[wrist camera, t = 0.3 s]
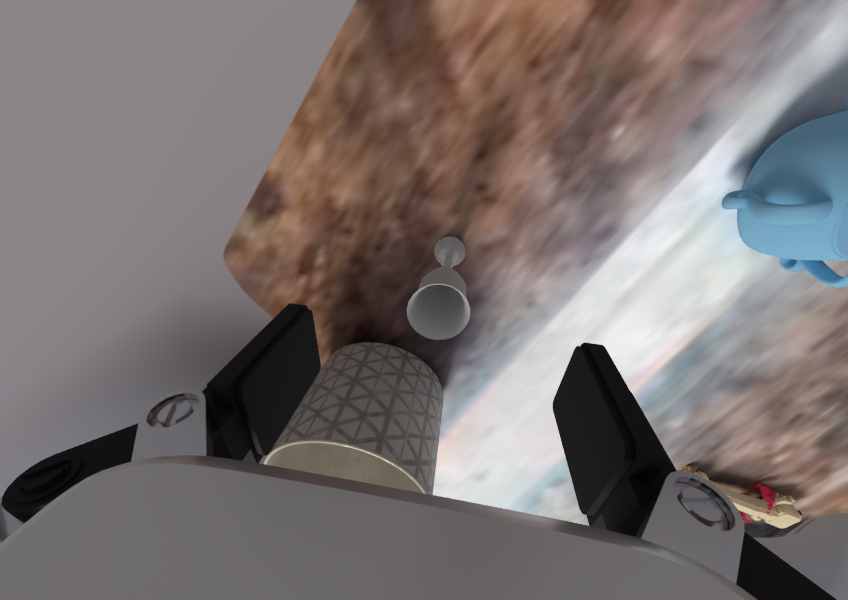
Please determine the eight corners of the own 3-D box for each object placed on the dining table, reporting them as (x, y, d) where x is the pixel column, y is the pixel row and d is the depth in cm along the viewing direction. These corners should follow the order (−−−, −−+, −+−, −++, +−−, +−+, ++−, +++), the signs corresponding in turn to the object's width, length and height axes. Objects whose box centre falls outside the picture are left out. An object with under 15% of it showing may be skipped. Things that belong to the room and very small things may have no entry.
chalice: (439, 222, 46) (421, 273, 30) (479, 240, 46) (482, 299, 31) (421, 262, 49) (397, 325, 34) (459, 279, 50) (452, 348, 35)
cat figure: (660, 475, 69) (767, 517, 68) (679, 516, 62) (800, 564, 61) (692, 452, 64) (809, 496, 63) (717, 493, 57) (849, 545, 56)
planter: (374, 306, 55) (316, 413, 35) (470, 382, 61) (468, 512, 41) (308, 371, 67) (235, 481, 46) (394, 430, 73) (363, 550, 53)
